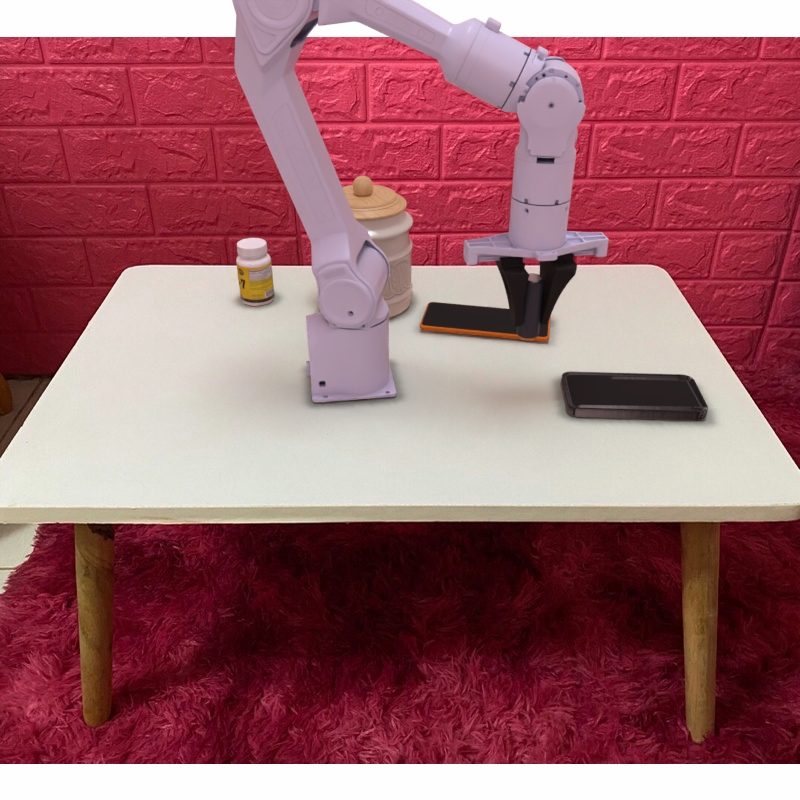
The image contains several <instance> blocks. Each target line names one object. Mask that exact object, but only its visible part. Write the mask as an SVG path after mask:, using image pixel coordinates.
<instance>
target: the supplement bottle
mask: <svg viewBox="0 0 800 800" xmlns="http://www.w3.org/2000/svg"><path fill="white" fill-rule="evenodd" d="M267 243H268V242H267V241H266V239H263V238H260V237H248V238H242V239H240V240H238V241H237V243H236V252H237V257H236V259H235V264H236V272H237V279H238V287H239V295H240V296H239V297H240V300H241V302H242V303H243V304H245V305H247V306H249V307H250V306H251V307H260V306H264V305H268V304H270V303H272V302H273V301H274V300H275V298H276V297H275V295H276V294H275V286H274V276H273V265H272V258H271V256H270V254H269V253H268V244H267Z"/></svg>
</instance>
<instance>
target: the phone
mask: <svg viewBox="0 0 800 800" xmlns="http://www.w3.org/2000/svg"><path fill="white" fill-rule="evenodd" d="M560 388H561V391H562V395H563V400H564V405H565V409H566V412H567V413H568V414H569V415H571V416H572V417H575V418H597V419H598V418H599V419H631V420H632V419H634V420H663V421H664V420H667V421H668V420H671V421H673V420H674V421H704V420H705V419H706V417H707V414H708V412H709V411H708V410H709V406H708V404H707V402H706V400H705V398H704V396H703V394H702V393H701V390H700V388H699V386H698V384H697V383H696V381H695V379H694V378H693V377H691V376H690V375H687V374H682V373H681V374H680V373H679V374H678V373H675V374H674V373H646V372H645V373H643V372H642V373H641V372H640V373H639V372H638V373H637V372H635V373H634V372H605V371H604V372H603V371H601V372H600V371H565V372H563V373H562V374H561V379H560Z"/></svg>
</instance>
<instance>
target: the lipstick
mask: <svg viewBox="0 0 800 800" xmlns="http://www.w3.org/2000/svg"><path fill="white" fill-rule="evenodd" d="M528 274H529V278H528V281H527V285H526V290H525V295H524V301H523V319H522V324H521V326H517V331H516V333H517V335H518V336H519V338H520V339H519V340H521V339H522V340H523V341H526V342H527V341H528V342H530V341H531V340H534V339H535V338H536V337H537V336H538V335H539V328H540V319H541V309H542V300H543V291H544V282H545V280H544V278H543V277H542V276H541V275H540V273H532V272H530V273H529V272H528Z"/></svg>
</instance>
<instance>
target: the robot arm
mask: <svg viewBox="0 0 800 800" xmlns="http://www.w3.org/2000/svg"><path fill="white" fill-rule="evenodd" d="M231 1H232V5H233V9H234V11H235V34H234V35H235V38H234V61H233V62H234V63H233V65H234V67H233V68H234V71H235V75H236V78H237V80H238V82H239V84H240V85H239V86H240V87H241V89H242V92H243V93H244V96H245V98H246V100H247V103H248V105H249V108H250V109H251V112H252V114H253V116H254V118H255V121H256V122H257V126H258V127H259V130H260V132H261V134H262V137H263V139H264V141H265V143H266V145H267V147H268V149H269V152H270V154H271V156H272V158H273V161H274V163H275V165H276V168H277V170H278V172H279V174H280V176H281V179H282V181H283V183H284V186H285V188H286V190H287V192H288V194H289V196H290V199H291V201H292V203H293V206H294V208H295V210H296V213H297V215H298V217H299V219H300V222H301V223H302V226H303V228H304V230H305V233H306V236H307V237H308V239H309V242H310V247H311V248H310V249H311V250H310V251H311V253H310V254H311V272H312V275H313V277H314V279H315V282H316V287H317V294H316V299H317V306H318V308H319V312H315V313H311V314H307V315H305V323H306V334H307V335H306V337H307V347H308V348H307V349H308V360H306V362H305V363H306V365H305V366H306V376H307V377H310V388H311V389H310V390H311V400H312V402H313V403H316V404H317V403H329V402H343V401H355V400H370V399H381V398H382V399H383V398H394V397H396V396H397V388H396V385H395V384H396V383H395V380H394V376H393V373H392V368H391V364H390V331H389V330H390V327H389V326H390V324H389V323H390V322H389V321H390V318H389V308H388V306H387V304H386V302H385V300H384V298H383V296H382V294H381V293H382V290H383V288H384V286H385V284H386V283H387V281H388V279H389V276H390V264H389V261H388V258H387V257H386V255H385V253H384V252H383V251H382V250H381V249H380V248H379V247H377V246H376V245H375V244H374V242H373V241H372V240H371V238H370V236H369V233H368V231H367V229H366V228H365V227H364V226H363V225H362V224H360V223H359V222H358V221H357V220H356V219H355V217H354V215H353V212H352V210H351V208H350V205H349V203H348V200H347V198H346V195H345V193H344V191H343V188H342V187H343V186H342V183H341V181H340V178H339V176H338V174H337V171H336V168H335V166H334V164H333V161H332V159H331V156H330V154H329V151H328V148H327V146H326V144H325V142H324V140H323V137H322V135H321V132H320V129H319V127H318V125H317V122H316V120H315V118H314V115H313V112H312V110H311V107H310V106H309V105H310V104H309V102H308V100H307V98H306V95H305V93H304V90H303V88H302V86H301V82H300V81H299V78H298V76H297V74H296V70H295V68H296V65H297V62H298V60H299V58H300V56H301V54H302V51H303V49H304V47H305V44H306V42H307V39H308V36H309V34H310V33H311V32H312V31H313V29H314V28H316V26H321V27H322V26H329V25H331V26H332V25H338V24H345V23H353V22H354V23H355V22H356V23H359V24H361V25H364V26H366V27H368V28H369V29H372V30H374V31H377V32H378V33H380V34H383V35H385V36H387V37H389V38H391V39H393V40H395V41H398V42H400V43H402V44H403V45H406V46H407V47H410V48H412V49H414V50H417V51H418V52H420V53H422V54H425V55H427V56H429V57H431V58H433V59H435V60H436V61H437V62H438V64H439V66H440V69H441V72H442V75H443V78H444V81H445V82H447V83H449V84H450V85H453V86H455V87H456V88H458V89H460V90H462V91H464V92H466V93H468V94H470V95H472V96H474V97H476V98H478V99H479V100H481V101H483V102H485V103H487V104H489V105H490V106H492V107H495V108H497V109H498V110H500V111H502V112H504V113H515V114H516V115H517V118H518V121H519V123H520V124H519V125H520V126H519V136H518V143H517V144H516V146H515V148H514V158H513V170H512V171H513V172H512V185H511V196H510V210H509V219H508V220H509V221H508V222H509V224H508V232H503V233H499V234H494V235H489V236H485V237H479V238H473V239H465V240H463V252H462V253H463V255H462V258H463V260H464V262H465V264H466V266H475V265H478V262H479V263H480V262H495V265H496V267H497V269H498V271H499V274H500V277H501V280H502V284H503V286H504V290H505V293H506V297H507V298H506V299H507V304H508V309H509V312H510V320H511V321H512V323H513V325H514V326H515V327H516V326H521V324H522V319H523V301H524V295H525V290H526V285H527V281H528V278H529V272H528V271H527V269H526V263H525V262H524V260H530V259H535V260H536V261H538V262H539V275H541V276H542V277H543V278H544V280H545V282H544V291H543V300H542V309H541V319H540V323H541V324H542V325H544V324H548V322H549V319H550V316H551V317H552V313H553V311H554V309H555V306H556V304H557V302H558V300H559V298H560V296H561V295H562V293H563V292H564V290H565V289H566V287H567V286H568V284H569V283H570V281H571V280H572V279H573V278H574V277H575V275H576V274H577V270H578V264H577V262H576V261H575V260H574V259H575V257H578V256H579V257H581V256H595V257H597V258H604V257H605V258H606V257H607V255H608V249H609V243H610V242H609V241H610V238H609V237H608V236H607V235H605V233H603V232H602V231H594V232H593V231H592V232H589V231H573V230H568V225H569V214H570V208H571V199H572V191H573V185H574V175H575V167H576V160H577V159H576V158H577V148H576V147H575V145H576V143H577V140H578V134H579V131H578V126H579V125H580V124H581V122H582V121H583V119H584V116H585V113H586V109H587V106H586V104H585V95H584V94H585V93H584V89H583V84H582V80H581V78H580V75H579V74H578V72H577V71H576V69H575V68H574V67H573V66H572V65H570V64H569V63H567V61H566V59H564V58H563V57H562V56H551V55H550V56H549V50H548V49H546V48H545V47H542V46H541V45H539V46H538V47H537V49H534V48H531V47H530V46H528V45H526V44H525V43H522V42H520V41H519V40H517V39H515V38H513V37H512V36H509V35H508V34H506V33H504V32H502V31H500V30H501V27H502V22H500V21H498V20H497V19H494V18H493V17H490V16H489V17H488V18H487V20H486V22H484V21H483V20H480V19H478V18H477V17H472V18H468V19H466V20H464V21H461V22H459V23H453V22H451V21H449V20H448V19H445V17H442V16H440V15H439V14H437V13H435V12H433V11H432V10H430V9H429V8H427V7H425V6H423V5H422V4H420V3H418V2H417V1H416V0H231Z"/></svg>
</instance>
